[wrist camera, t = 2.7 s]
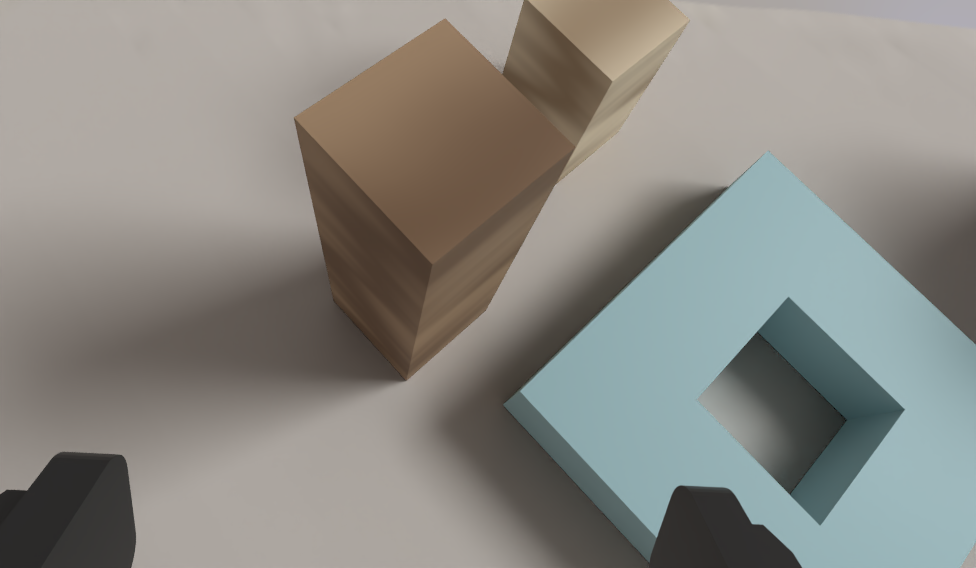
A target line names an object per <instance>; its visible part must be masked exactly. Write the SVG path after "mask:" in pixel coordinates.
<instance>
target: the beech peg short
mask: <svg viewBox="0 0 976 568" xmlns="http://www.w3.org/2000/svg"><path fill="white" fill-rule="evenodd" d="M689 21H690V19H688V18H687V17H686V16H685V15H684V14H683V13H682V12H681V11H680V10H679V9H678V8H677V7H675V6H674V5H673V4H672V3H671V2H670V1H669V0H524V2H523V5H522V9H521V12H520V16H519V19H518V23H517V26H516V29H515V33H514V36H513V40H512V43H511V47H510V50H509V54H508V57H507V61H506V64H505V68H504V71H503V74H502V75H503V76H504V77H505V78H506V79H507V80H508V81H509V82H510V83H511V84H512V85H513V86H514V87H515V88H516V89H517V90H518V91H519V92H520V93H521V94H522V95H523V96H525V97H526V98H527V99H528V100H529V101H530V102H531V103H532V104H533V105H534V106H535V107H536V108H537V109H538V110H539V111H540V112H541V113H542V114H543V115H544V116H545V117H546V118H547V119H548V120H549V121H550V122H551V123H552V124H553V125H554V126H555V127H556V128H557V129H558V130H559V131H560V132H561V133H562V134H563V135H564V136H565V137H566V138H567V139H568V140H569V141H570V142H571V143H572V144H573V145H574V146H575V149H574V151H573V153H572V155H571V157H570V158H569V160H568V162H567V164H566V166H565V167H564V169H563V171H562V173H561V175H560V177H559V178H558V180H557V182H556V184H557V183H558V182H559V181H560V180H562V179H563V178H564V177H565V176H566V175H568V174H569V173H570V172H571V171H572V170H574V169H575V168H576V167H577V166H578V165H580V164H581V163H582V162H583V161H584V160H586V159H587V158H588V157H589V156H590V155H592V154H593V153H594V152H595V151H596V150H598V149H599V148H600V147H601V146H602V145H604V144H605V143H606V142H607V141H608V140H609V139H611V138H612V137H613V136H614V135H615V134H617V133H618V131H619V130H620V128H621V127H622V125H623V124H624V122H625V121H626V119H627V117H628V116H629V114H630V113H631V111H632V110H633V108H634V107H635V105H636V104H637V102H638V100H639V99H640V97H641V96H642V94H643V93H644V91H645V90H646V88H647V86H648V85H649V83H650V82H651V80H652V79H653V77H654V76H655V74H656V72H657V71H658V69H659V68H660V66H661V65H662V63H663V62H664V60H665V58H666V57H667V55H668V54H669V52H670V51H671V49H672V48H673V46H674V45H675V43H676V41H677V40H678V38H679V37H680V35H681V34H682V32H683V31H684V29H685V27H686V26H687V24H688V23H689Z"/></svg>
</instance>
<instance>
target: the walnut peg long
mask: <svg viewBox="0 0 976 568" xmlns="http://www.w3.org/2000/svg"><path fill="white" fill-rule="evenodd" d="M294 120H295V125H296V129H297V134H298V139H299V143H300V148H301V153H302V157H303V162H304V166H305V171H306V176H307V180H308V185H309V189H310V194H311V199H312V203H313V208H314V212H315V217H316V222H317V226H318V231H319V235H320V240H321V245H322V249H323V254H324V259H325V263H326V268H327V272H328V277H329V282H330V286H331V291H332V295H333V300H334V302H335V303H336V304H337V305H338V306H339V307H340V308H341V309H342V310H343V312H344V313H345V314H346V315H347V316H348V317H349V318H350V319H351V320H352V321H353V323H354V324H355V325H356V326H357V327H358V328H359V329H360V330H361V331H362V333H363V334H364V335H365V336H366V337H367V338H368V339H369V340H370V341H371V342H372V344H373V345H374V346H375V347H376V348H377V349H378V350H379V351H380V352H381V353H382V355H383V356H384V357H385V358H386V359H387V360H388V361H389V362H390V363H391V365H392V366H393V367H394V368H395V369H396V370H397V371H398V372H399V373H400V374H401V376H402V377H403V378H404V379H405V380H406V381H407V380H408V379H409V378H410V377H411V376H412V375H413V374H415V373H416V372H417V371H418V370H419V369H420V368H421V367H423V366H424V365H425V364H426V363H427V362H428V361H429V360H430V359H432V358H433V357H434V356H435V355H436V354H437V353H438V352H439V351H441V350H442V349H443V348H444V347H445V346H446V345H447V344H448V343H450V342H451V341H452V340H453V339H454V338H455V337H456V336H457V335H459V334H460V333H461V332H462V331H463V330H464V329H465V328H467V327H468V326H469V325H470V324H471V323H472V322H473V321H474V320H476V319H477V318H478V317H479V316H480V315H481V314H482V313H483V312H485V311H486V309H487V307H488V305H489V304H490V302H491V300H492V298H493V296H494V294H495V293H496V291H497V289H498V287H499V285H500V284H501V282H502V280H503V278H504V276H505V274H506V273H507V271H508V269H509V267H510V265H511V264H512V262H513V260H514V258H515V256H516V255H517V253H518V251H519V249H520V247H521V245H522V244H523V242H524V240H525V238H526V236H527V235H528V233H529V231H530V229H531V227H532V226H533V224H534V222H535V220H536V218H537V216H538V215H539V213H540V211H541V209H542V207H543V206H544V204H545V202H546V200H547V198H548V196H549V195H550V193H551V191H552V189H553V187H554V186H555V184H556V182H557V180H558V178H559V177H560V175H561V173H562V171H563V169H564V167H565V166H566V164H567V162H568V160H569V158H570V157H571V155H572V153H573V151H574V149H575V146H574V145H573V144H572V143H571V142H570V141H569V140H568V139H567V138H566V137H565V136H564V135H563V134H562V133H561V132H560V131H559V130H558V129H557V128H556V127H555V126H554V125H553V124H552V123H551V122H550V121H549V120H548V119H547V118H546V117H545V116H544V115H543V114H542V113H541V112H540V111H539V110H538V109H537V108H536V107H535V106H534V105H533V104H532V103H531V102H530V101H529V100H528V99H527V98H526V97H525V96H523V95H522V94H521V93H520V92H519V91H518V90H517V89H516V88H515V87H514V86H513V85H512V84H511V83H510V82H509V81H508V80H507V79H506V78H505V77H504V76H503V75H502V74H501V73H500V72H499V71H498V70H497V69H496V68H495V67H494V66H493V65H492V64H491V63H490V62H489V61H488V60H487V59H486V58H485V57H484V56H483V55H482V54H481V53H480V52H479V51H478V50H477V49H476V48H475V47H474V46H473V45H472V44H471V43H470V42H469V41H468V40H467V39H466V38H465V37H463V36H462V35H461V34H460V33H459V32H458V31H457V30H456V29H455V28H454V27H453V26H452V25H451V24H450V23H449V22H448V21H447V20H446V19H443V20H442V21H440V22H439V23H437V24H436V25H434V26H433V27H431V28H430V29H428V30H427V31H425V32H424V33H422V34H421V35H419V36H418V37H416V38H415V39H413V40H411V41H410V42H408V43H407V44H405V45H404V46H402V47H401V48H399V49H398V50H396V51H395V52H393V53H392V54H390V55H389V56H387V57H386V58H384V59H382V60H381V61H379V62H378V63H376V64H375V65H373V66H372V67H370V68H369V69H367V70H366V71H364V72H363V73H361V74H360V75H358V76H357V77H355V78H354V79H352V80H350V81H349V82H347V83H346V84H344V85H343V86H341V87H340V88H338V89H337V90H335V91H334V92H332V93H331V94H329V95H328V96H326V97H325V98H323V99H321V100H320V101H318V102H317V103H315V104H314V105H312V106H311V107H309V108H308V109H306V110H305V111H303V112H302V113H300V114H299V115H297V116H296V117H294Z"/></svg>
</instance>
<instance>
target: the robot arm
mask: <svg viewBox="0 0 976 568" xmlns="http://www.w3.org/2000/svg"><path fill="white" fill-rule="evenodd" d="M135 545H136V531H135V523H134V515H133V507H132V499H131V492H130V484H129V476H128V468H127V463H126V460H125V458H124V457H123V456H122V455H115V454H96V453H77V452H60V453H58V454H57V455H55V456H54V457H53V458H52V459H51V460H50V462H49V463H48V464H47V466H46V467H45V468H44V469H43V471H42V472H41V473H40V475H39V476H38V477H37V479H36V480H35V481H34V483H33V484H32V485H31V486H30V488H29V489H28V490H27V491H23V490H6V491H5V492H3V493H2V494H0V568H131V566H132V562H133V558H134V553H135ZM649 568H802V567H801V565H800V563H799V562H798V560H797V559H796V557H795V555H794V554H793V552H792V551H791V550H789V549H788V548H787V547H786V546H785V545H784V544H783V543H782V542H781V541H780V540H779V539H778V538H777V537H776V536H775V535H774V534H773V533H771V532H770V531H769V530H768V529H767V528H766V527H765V526H764V525H761V524H752V523H751V521H750V520H749V518H748V516H747V514H746V513H745V511H744V509H743V508H742V506H741V504H740V502H739V501H738V499H737V497H736V496H735V494H734V493H733V492H732V491H731V490H730V489H728V488H724V487H704V486H685V485H680V486H678V487H676V488H675V490H674V491H673V493H672V495H671V498H670V501H669V504H668V507H667V510H666V513H665V515H664V518H663V521H662V524H661V527H660V530H659V533H658V536H657V538H656V541H655V544H654V547H653V550H652V553H651V557H650V563H649Z"/></svg>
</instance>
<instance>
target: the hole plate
mask: <svg viewBox="0 0 976 568" xmlns="http://www.w3.org/2000/svg"><path fill="white" fill-rule="evenodd" d="M756 332H758V333H759V334H760V335H761V336H762V337H763V338H764V339H765V340H766V341H767V342H769V343H770V344H771V345H772V346H773V347H774V348H775V349H776V350H777V351H778V352H779V353H780V354H781V355H782V356H783V357H784V358H785V359H786V360H787V361H788V362H789V363H790V364H791V365H792V366H793V367H794V368H795V369H796V370H797V371H798V372H799V373H800V374H801V375H802V376H803V377H804V378H805V379H806V380H807V381H808V382H809V383H810V384H811V385H812V386H813V387H814V388H815V389H816V390H817V391H818V392H819V393H820V394H821V395H822V396H823V397H824V398H825V399H826V400H827V401H828V402H829V403H830V404H831V405H832V406H833V407H834V408H835V409H836V410H838V411H839V412H840V413H841V414H842V415H843V416H844V417H845V418H846V419H847V421H846V422H845V423H844V425H843V426H842V427H841V429H840V430H839V431H838V433H837V434H836V435H835V437H834V438H833V439H832V440H831V442H830V443H829V444H828V446H827V447H826V448H825V450H824V451H823V452H822V454H821V455H820V456H819V457H818V459H817V460H816V461H815V463H814V464H813V465H812V467H811V468H810V469H809V470H808V472H807V473H806V474H805V476H804V477H803V478H802V480H801V481H800V482H799V484H798V485H797V486H796V487H795V489H794V490H793V491H792V493H791V494H790V495H789V494H788V493H787V492H786V491H785V489H784V488H783V487H782V486H781V485H780V484H779V483H778V482H777V481H776V480H775V479H774V478H773V477H772V476H771V475H770V474H769V473H768V472H767V471H766V470H765V469H764V468H763V467H762V466H761V465H760V464H759V463H758V462H757V461H756V460H755V459H754V458H753V457H752V456H751V455H750V454H749V453H748V452H747V451H746V450H745V449H744V448H743V447H742V446H741V445H740V444H739V443H738V442H737V440H736V439H735V438H734V437H733V436H732V435H731V434H730V433H729V432H728V431H727V430H726V429H725V428H724V427H723V426H722V425H721V424H720V423H719V422H718V421H717V420H716V419H715V418H714V417H713V416H712V415H711V414H710V413H709V412H708V411H707V410H706V409H705V408H704V407H703V406H702V405H701V404H700V403H699V402H698V401H697V398H698V397H699V396H700V395H701V394H702V393H703V392H704V391H705V389H706V388H707V387H708V386H709V385H710V384H711V383H712V382H713V380H714V379H715V378H716V377H717V376H718V375H719V374H720V373H721V372H722V370H723V369H724V368H725V367H726V366H727V365H728V364H729V363H730V361H731V360H732V359H733V358H734V357H735V356H736V355H737V354H738V352H739V351H740V350H741V349H742V348H743V347H744V346H745V345H746V344H747V342H748V341H749V340H750V339H751V338H752V337H753V336H754V335H755V333H756ZM503 405H504V407H505V408H506V409H507V410H508V411H509V412H510V413H511V414H512V415H513V416H514V417H515V418H516V419H517V421H518V422H519V423H520V424H521V425H522V426H523V427H524V428H525V429H526V430H527V431H528V432H529V434H530V435H531V436H532V437H533V438H534V439H535V440H536V441H537V442H538V443H539V444H540V445H541V446H542V448H543V449H544V450H545V451H546V452H547V453H548V454H549V455H550V456H551V457H552V458H553V459H554V461H555V462H556V463H557V464H558V465H559V466H560V467H561V468H562V469H563V470H564V471H565V472H566V473H567V475H568V476H569V477H570V478H571V479H572V480H573V481H574V482H575V483H576V484H577V485H578V486H579V488H580V489H581V490H582V491H583V492H584V493H585V494H586V495H587V496H588V497H589V498H590V499H591V500H592V502H593V503H594V504H595V505H596V506H597V507H598V508H599V509H600V510H601V511H602V512H603V513H604V515H605V516H606V517H607V518H608V519H609V520H610V521H611V522H612V523H613V524H614V525H615V526H616V527H617V529H618V530H619V531H620V532H621V533H622V534H623V535H624V536H625V537H626V538H627V539H628V540H629V542H630V543H631V544H632V545H633V546H634V547H635V548H636V549H637V550H638V551H639V552H640V553H641V554H642V556H643V557H644V558H645V559H646V560H647V561H648V562H649V563H650V557H651V553H652V550H653V547H654V544H655V541H656V538H657V536H658V533H659V530H660V527H661V524H662V521H663V518H664V515H665V513H666V510H667V507H668V504H669V501H670V498H671V495H672V493H673V491H674V490H675V488H676V487H678V486H680V485H685V486H704V487H724V488H728V489H730V490H731V491H732V492H733V493H734V494H735V496H736V497H737V499H738V501H739V502H740V504H741V506H742V508H743V509H744V511H745V513H746V514H747V516H748V518H749V520H750V521H751V523H752V524H761V525H764V526H765V527H766V528H767V529H768V530H769V531H770V532H771V533H773V534H774V535H775V536H776V537H777V538H778V539H779V540H780V541H781V542H782V543H783V544H784V545H785V546H786V547H787V548H788V549H789V550H791V551H792V552H793V554H794V555H795V557H796V559H797V560H798V562H799V563H800V565H801V567H802V568H960V567H961V565H962V564H963V562H964V560H965V559H966V557H967V555H968V554H969V552H970V551H971V549H972V547H973V546H974V544H975V542H976V344H975V343H974V342H973V341H971V340H970V339H969V338H968V337H967V336H966V335H965V334H964V333H963V332H962V331H961V330H960V329H959V328H958V327H956V326H955V325H954V324H953V323H952V322H951V321H950V320H949V319H948V318H947V317H946V316H945V315H944V314H943V313H941V312H940V311H939V310H938V309H937V308H936V307H935V306H934V305H933V304H932V303H931V302H930V301H929V300H928V299H926V298H925V297H924V296H923V295H922V294H921V293H920V292H919V291H918V290H917V289H916V288H915V287H914V286H913V285H911V284H910V283H909V282H908V281H907V280H906V279H905V278H904V277H903V276H902V275H901V274H900V273H899V272H898V271H896V270H895V269H894V268H893V267H892V266H891V265H890V264H889V263H888V262H887V261H886V260H885V259H884V258H883V257H881V256H880V255H879V254H878V253H877V252H876V251H875V250H874V249H873V248H872V247H871V246H870V245H869V244H868V243H866V242H865V241H864V240H863V239H862V238H861V237H860V236H859V235H858V234H857V233H856V232H855V231H854V230H853V229H851V228H850V227H849V226H848V225H847V224H846V223H845V222H844V221H843V220H842V219H841V218H840V217H839V216H838V215H836V214H835V213H834V212H833V211H832V210H831V209H830V208H829V207H828V206H827V205H826V204H825V203H824V202H823V201H821V200H820V199H819V198H818V197H817V196H816V195H815V194H814V193H813V192H812V191H811V190H810V189H809V188H808V187H807V186H805V185H804V184H803V183H802V182H801V181H800V180H799V179H798V178H797V177H796V176H795V175H794V174H793V173H792V172H790V171H789V170H788V169H787V168H786V167H785V166H784V165H783V164H782V163H781V162H780V161H779V160H778V159H777V158H775V157H774V156H773V155H772V154H771V153H770V152H769V151H767V152H766V153H765V154H764V155H763V156H762V157H761V158H760V159H758V160H757V161H756V162H755V163H754V164H753V165H752V166H751V167H750V168H749V169H747V170H746V171H745V172H744V173H743V174H742V175H741V176H740V177H739V178H738V179H736V180H735V181H734V182H733V183H732V184H731V185H730V186H729V187H728V188H727V189H726V190H725V191H724V192H723V193H722V194H721V195H720V196H718V197H717V198H716V199H715V200H714V201H713V202H712V203H711V204H710V205H709V206H708V207H707V208H706V209H705V210H704V211H703V212H702V213H701V214H700V215H699V216H698V217H697V218H696V219H695V220H694V221H693V222H692V223H691V224H690V225H688V226H687V227H686V228H685V229H684V230H683V231H682V232H681V233H680V234H679V235H678V236H677V237H676V238H675V239H674V240H673V241H672V242H671V243H670V244H669V245H668V246H667V247H666V248H665V249H664V250H663V251H662V252H661V253H659V254H658V255H657V256H656V257H655V258H654V259H653V260H652V261H651V262H650V263H649V264H648V265H647V266H646V267H645V268H644V269H643V270H642V271H641V272H640V273H639V274H638V275H637V276H636V277H635V278H634V279H633V280H632V281H631V282H629V283H628V284H627V285H626V286H625V287H624V288H623V289H622V290H621V291H620V292H619V293H618V294H617V295H616V296H615V297H614V298H613V299H612V300H611V301H610V302H609V303H608V304H607V305H606V306H605V307H604V308H603V309H602V310H601V311H599V312H598V313H597V314H596V315H595V316H594V317H593V318H592V319H591V320H590V321H589V322H588V323H587V324H586V325H585V326H584V327H583V328H582V329H581V330H580V331H579V332H578V333H577V334H576V335H575V336H574V337H573V338H572V339H571V340H569V341H568V342H567V343H566V344H565V345H564V346H563V347H562V348H561V349H560V350H559V351H558V352H557V353H556V354H555V355H554V356H553V357H552V358H551V359H550V360H549V361H548V362H547V363H546V364H545V365H544V366H543V367H542V368H541V369H539V370H538V371H537V372H536V373H535V374H534V375H533V376H532V377H531V378H530V379H529V380H528V381H527V382H526V383H525V384H524V385H523V386H522V387H521V388H520V389H519V390H518V391H517V392H516V393H515V394H514V395H513V396H512V397H510V398H509V399H508V400H507V401H506V402H505V403H504V404H503Z"/></svg>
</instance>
